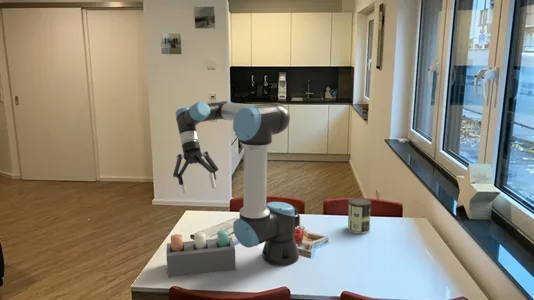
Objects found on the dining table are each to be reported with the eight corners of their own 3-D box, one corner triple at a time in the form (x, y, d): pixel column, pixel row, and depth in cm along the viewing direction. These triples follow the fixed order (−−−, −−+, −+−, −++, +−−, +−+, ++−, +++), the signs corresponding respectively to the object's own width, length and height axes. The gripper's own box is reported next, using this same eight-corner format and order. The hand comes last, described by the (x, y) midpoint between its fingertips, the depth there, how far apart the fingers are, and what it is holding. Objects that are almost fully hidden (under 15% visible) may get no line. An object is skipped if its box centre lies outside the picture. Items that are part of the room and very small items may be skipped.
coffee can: (367, 224, 217) (368, 197, 214) (371, 233, 207) (373, 204, 204) (346, 224, 218) (346, 197, 214) (349, 233, 208) (350, 205, 204)
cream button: (205, 245, 179) (205, 231, 178) (206, 250, 175) (205, 236, 174) (194, 246, 179) (193, 232, 177) (195, 251, 174) (194, 237, 173)
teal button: (228, 243, 181) (227, 229, 180) (229, 248, 177) (229, 234, 176) (217, 244, 180) (216, 230, 179) (218, 249, 176) (217, 235, 175)
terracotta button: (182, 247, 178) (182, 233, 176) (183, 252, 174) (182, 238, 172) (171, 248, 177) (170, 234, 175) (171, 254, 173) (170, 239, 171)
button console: (232, 257, 186) (231, 237, 184) (235, 270, 176) (235, 249, 174) (168, 264, 182) (166, 243, 179) (167, 277, 171) (166, 255, 169)
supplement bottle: (298, 236, 206) (298, 211, 203) (284, 235, 207) (283, 210, 204) (300, 230, 212) (300, 206, 209) (286, 229, 213) (286, 205, 211)
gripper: (212, 143, 206) (222, 187, 202) (159, 147, 193) (169, 196, 189) (219, 137, 200) (229, 184, 196) (165, 142, 187) (175, 192, 182)
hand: (199, 190), depth 192 cm, fingers open, 13 cm apart
